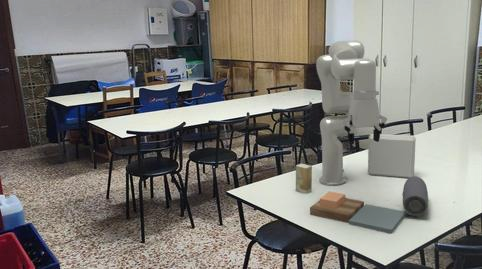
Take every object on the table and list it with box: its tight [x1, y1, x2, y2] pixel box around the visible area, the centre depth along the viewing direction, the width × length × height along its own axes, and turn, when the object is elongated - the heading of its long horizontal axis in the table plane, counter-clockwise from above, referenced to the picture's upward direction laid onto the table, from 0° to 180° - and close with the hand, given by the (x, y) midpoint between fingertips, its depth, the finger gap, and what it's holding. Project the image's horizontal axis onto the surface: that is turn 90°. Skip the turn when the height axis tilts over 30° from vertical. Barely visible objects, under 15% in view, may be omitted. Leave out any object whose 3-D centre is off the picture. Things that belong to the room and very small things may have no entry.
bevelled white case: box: [367, 133, 417, 179], centre depth 208 cm, size 21×8×20 cm, turn 65°
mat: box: [348, 203, 407, 234], centre depth 161 cm, size 18×16×2 cm
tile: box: [319, 191, 346, 209], centre depth 171 cm, size 9×7×3 cm
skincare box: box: [295, 163, 313, 195], centre depth 193 cm, size 6×4×12 cm
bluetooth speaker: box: [402, 175, 429, 217], centre depth 169 cm, size 23×9×10 cm, turn 159°
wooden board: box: [309, 197, 365, 224], centre depth 170 cm, size 16×16×3 cm
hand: (363, 142), depth 155 cm, fingers open, 9 cm apart
